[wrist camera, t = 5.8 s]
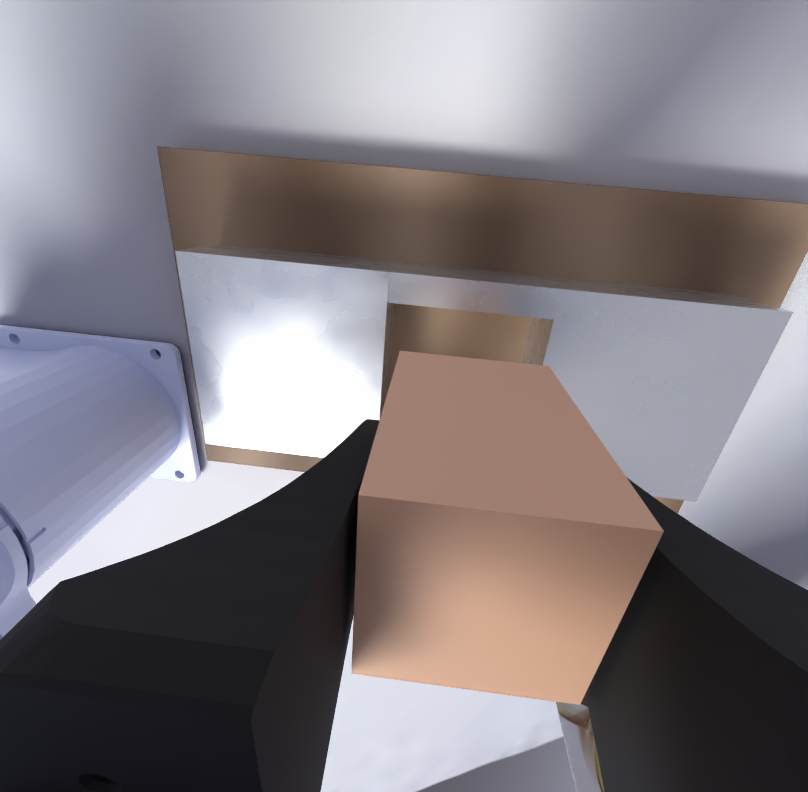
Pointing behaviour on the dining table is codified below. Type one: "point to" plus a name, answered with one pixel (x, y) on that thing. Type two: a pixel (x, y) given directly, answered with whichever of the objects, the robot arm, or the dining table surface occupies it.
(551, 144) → the dining table surface
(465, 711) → the dining table surface
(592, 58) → the dining table surface
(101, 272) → the dining table surface
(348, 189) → the board
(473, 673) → the peg
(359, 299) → the white square hole block
